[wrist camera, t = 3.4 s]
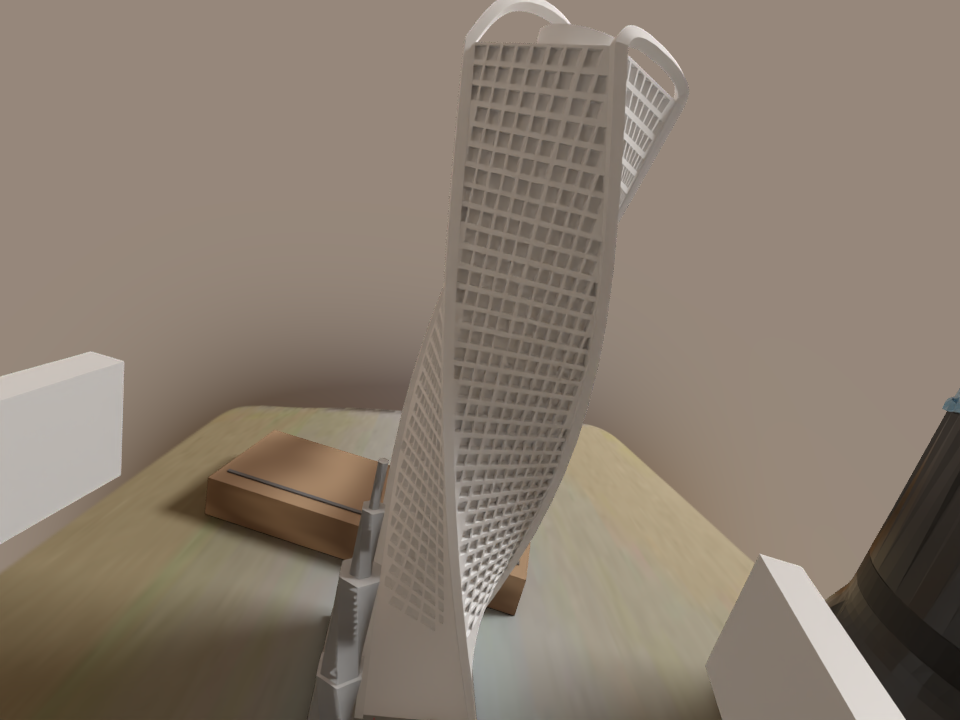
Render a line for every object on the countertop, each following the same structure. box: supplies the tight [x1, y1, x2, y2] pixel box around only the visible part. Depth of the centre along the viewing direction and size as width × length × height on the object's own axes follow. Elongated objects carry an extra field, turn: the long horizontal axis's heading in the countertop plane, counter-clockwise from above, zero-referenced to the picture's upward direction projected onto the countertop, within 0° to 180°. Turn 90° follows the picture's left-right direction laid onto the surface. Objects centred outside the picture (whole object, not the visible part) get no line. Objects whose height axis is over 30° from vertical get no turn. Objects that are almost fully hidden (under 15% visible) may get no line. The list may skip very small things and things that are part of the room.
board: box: [205, 430, 530, 616], centre depth 32 cm, size 19×7×3 cm, turn 80°
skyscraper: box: [307, 0, 689, 720], centre depth 19 cm, size 8×8×28 cm
